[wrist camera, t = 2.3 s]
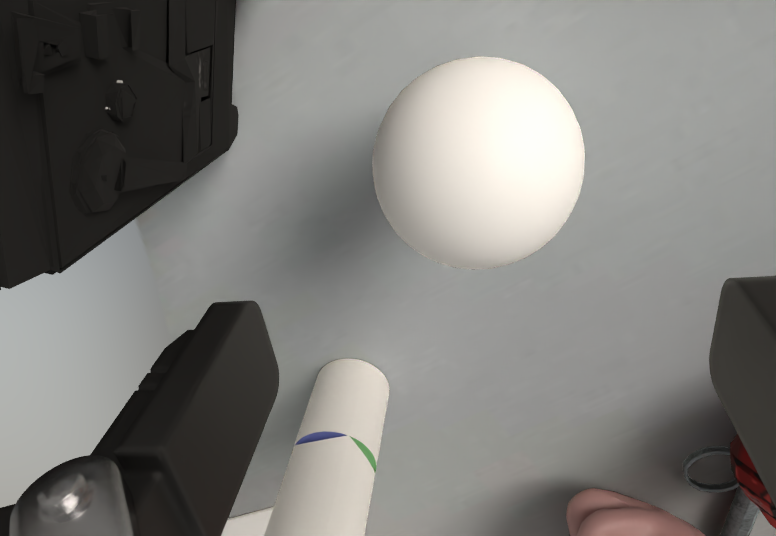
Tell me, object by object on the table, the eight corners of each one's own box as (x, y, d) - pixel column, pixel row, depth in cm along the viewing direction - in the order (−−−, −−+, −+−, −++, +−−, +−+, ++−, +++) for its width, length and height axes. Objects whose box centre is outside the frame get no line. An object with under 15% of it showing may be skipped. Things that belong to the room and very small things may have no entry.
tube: (372, 423, 34) (315, 718, 22) (306, 396, 34) (209, 682, 21) (401, 376, 32) (355, 675, 20) (331, 347, 32) (237, 634, 19)
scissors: (787, 605, 36) (775, 578, 37) (899, 386, 26) (879, 362, 28) (654, 589, 37) (648, 564, 38) (718, 376, 28) (707, 353, 29)
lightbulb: (558, 149, 24) (611, 295, 15) (418, 175, 26) (388, 323, 17) (542, -4, 21) (595, 59, 12) (385, 35, 23) (325, 119, 14)
